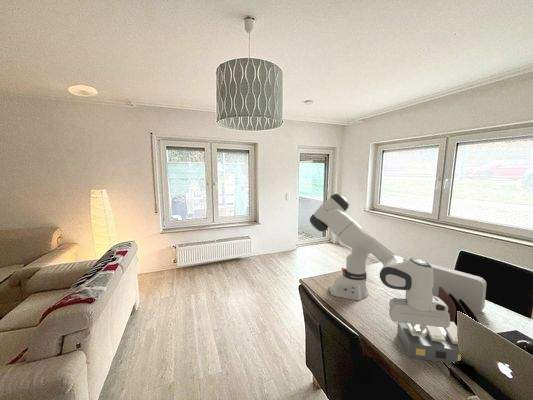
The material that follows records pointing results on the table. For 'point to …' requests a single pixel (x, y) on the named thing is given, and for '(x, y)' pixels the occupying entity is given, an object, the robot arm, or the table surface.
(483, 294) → the rounded white slab
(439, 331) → the rocker
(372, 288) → the table surface
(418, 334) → the rocker
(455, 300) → the letter holder
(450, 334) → the rocker
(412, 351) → the switch console
